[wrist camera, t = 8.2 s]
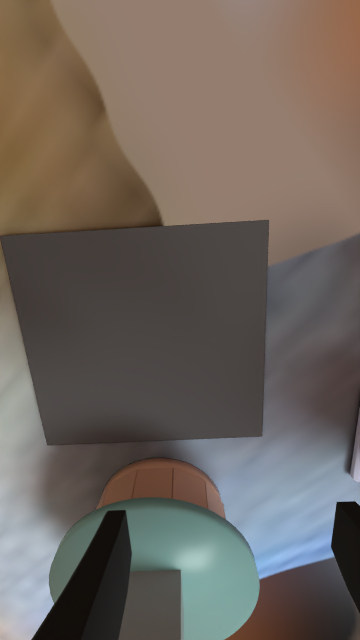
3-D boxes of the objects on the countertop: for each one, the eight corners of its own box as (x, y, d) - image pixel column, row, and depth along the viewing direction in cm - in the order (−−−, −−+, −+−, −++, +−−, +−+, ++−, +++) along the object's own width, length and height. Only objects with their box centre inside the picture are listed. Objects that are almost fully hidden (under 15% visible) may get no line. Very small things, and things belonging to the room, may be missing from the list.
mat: (266, 220, 16) (269, 219, 16) (260, 431, 20) (262, 436, 20) (5, 236, 17) (-1, 235, 16) (50, 440, 21) (47, 445, 20)
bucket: (220, 455, 21) (232, 518, 16) (222, 549, 24) (232, 627, 19) (92, 460, 21) (67, 523, 16) (109, 553, 24) (90, 631, 19)
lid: (258, 493, 16) (290, 597, 11) (253, 637, 19) (276, 762, 15) (37, 500, 16) (-22, 605, 11) (72, 642, 20) (38, 765, 15)
